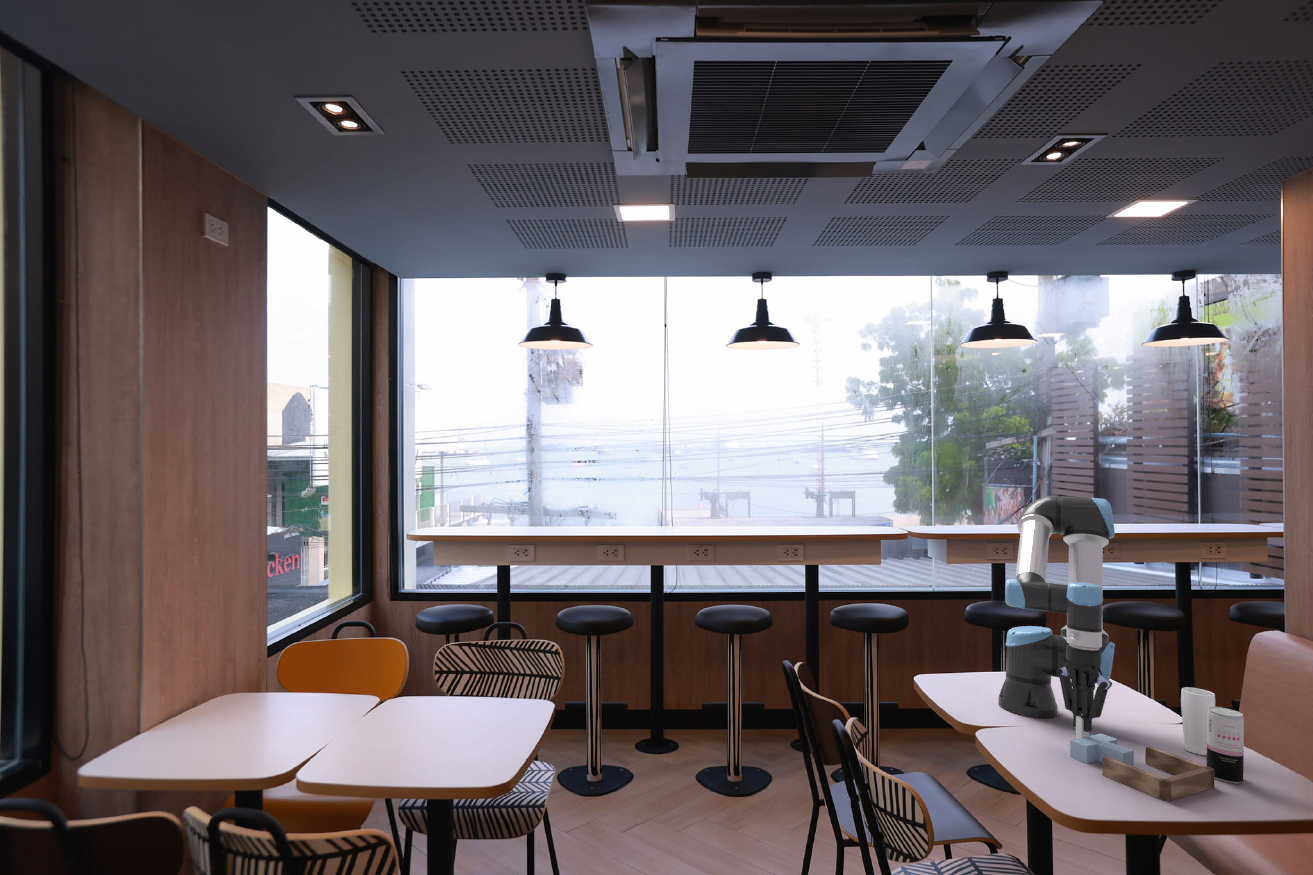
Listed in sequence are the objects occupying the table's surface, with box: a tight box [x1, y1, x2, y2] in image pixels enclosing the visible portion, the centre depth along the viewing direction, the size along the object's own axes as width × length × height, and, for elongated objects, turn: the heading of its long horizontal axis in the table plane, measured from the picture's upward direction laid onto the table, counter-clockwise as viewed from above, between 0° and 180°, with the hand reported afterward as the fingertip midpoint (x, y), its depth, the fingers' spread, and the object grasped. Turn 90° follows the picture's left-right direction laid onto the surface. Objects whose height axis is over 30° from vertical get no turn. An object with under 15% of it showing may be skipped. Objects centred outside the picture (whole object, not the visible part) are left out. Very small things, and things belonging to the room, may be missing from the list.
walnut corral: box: [1101, 745, 1215, 803], centre depth 157 cm, size 14×18×4 cm
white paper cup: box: [1180, 686, 1216, 756], centre depth 175 cm, size 7×7×15 cm
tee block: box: [1069, 733, 1135, 767], centre depth 167 cm, size 10×12×4 cm
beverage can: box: [1206, 706, 1245, 784], centre depth 161 cm, size 6×7×15 cm
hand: (1082, 743), depth 172 cm, fingers closed
